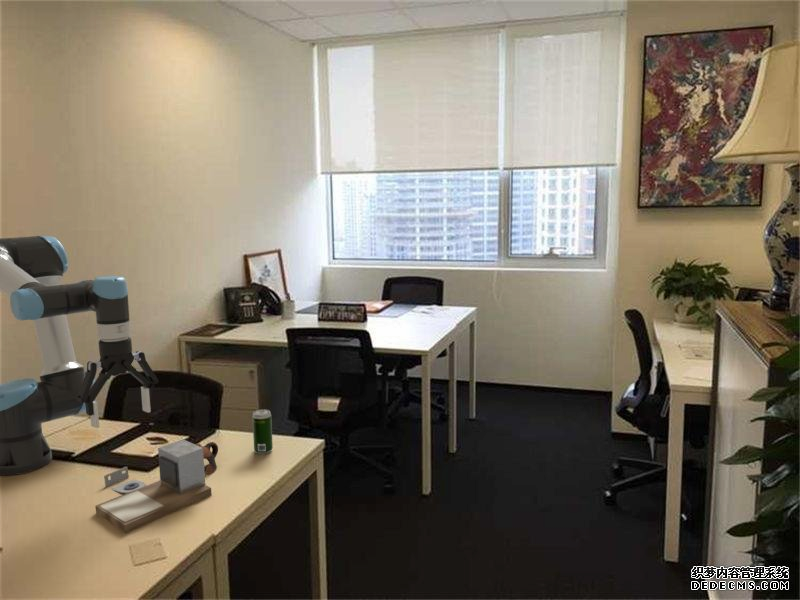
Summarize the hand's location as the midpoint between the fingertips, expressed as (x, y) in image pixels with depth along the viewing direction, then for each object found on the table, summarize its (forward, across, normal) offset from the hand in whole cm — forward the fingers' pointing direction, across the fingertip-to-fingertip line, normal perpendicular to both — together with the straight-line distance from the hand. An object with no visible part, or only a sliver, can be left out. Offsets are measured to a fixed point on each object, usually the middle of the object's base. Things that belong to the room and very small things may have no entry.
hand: (121, 418), depth 159 cm
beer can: (+18, +36, -11) cm, 42 cm away
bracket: (+19, 0, 0) cm, 19 cm away
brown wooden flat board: (+18, -1, -15) cm, 24 cm away
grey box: (+16, +7, -15) cm, 23 cm away
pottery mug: (+19, +18, -6) cm, 27 cm away
